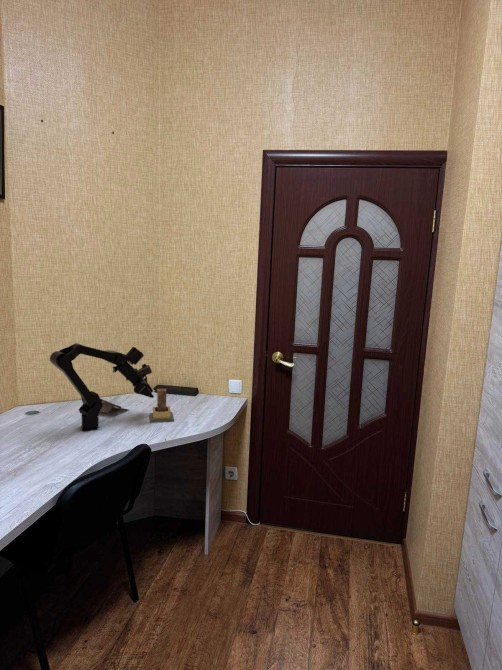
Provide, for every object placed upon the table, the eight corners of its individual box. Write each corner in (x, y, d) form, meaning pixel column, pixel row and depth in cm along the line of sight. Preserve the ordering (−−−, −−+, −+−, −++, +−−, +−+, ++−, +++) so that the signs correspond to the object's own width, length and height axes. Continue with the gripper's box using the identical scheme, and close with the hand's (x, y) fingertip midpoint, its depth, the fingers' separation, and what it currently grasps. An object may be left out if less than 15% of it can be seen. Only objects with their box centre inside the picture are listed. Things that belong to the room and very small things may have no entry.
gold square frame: (150, 422, 210) (150, 413, 210) (149, 414, 221) (149, 406, 220) (174, 421, 213) (174, 412, 212) (172, 413, 223) (172, 405, 223)
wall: (96, 414, 230) (81, 402, 217) (105, 400, 233) (91, 387, 221) (121, 425, 223) (107, 413, 211) (130, 410, 227) (117, 397, 215)
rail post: (157, 417, 214) (157, 391, 212) (157, 415, 218) (157, 388, 216) (166, 417, 215) (166, 391, 213) (165, 414, 219) (165, 388, 217)
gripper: (141, 364, 201) (166, 387, 205) (141, 355, 219) (164, 377, 223) (123, 381, 200) (148, 405, 205) (124, 372, 218) (147, 393, 223)
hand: (152, 394), depth 214 cm, fingers open, 9 cm apart
